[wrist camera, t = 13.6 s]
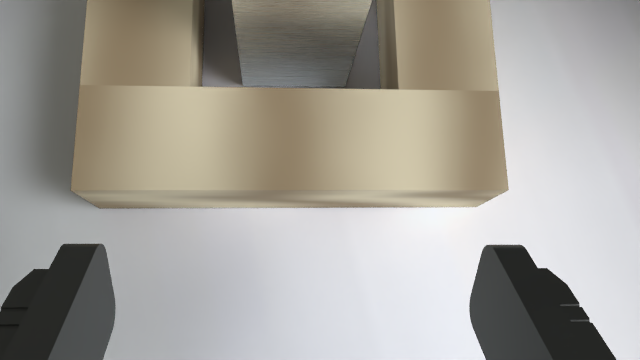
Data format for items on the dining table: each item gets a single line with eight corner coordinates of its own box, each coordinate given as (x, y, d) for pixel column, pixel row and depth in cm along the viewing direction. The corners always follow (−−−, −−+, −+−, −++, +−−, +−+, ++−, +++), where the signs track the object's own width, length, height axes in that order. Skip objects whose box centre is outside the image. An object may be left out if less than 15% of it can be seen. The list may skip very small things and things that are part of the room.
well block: (449, -106, 25) (473, -162, 22) (476, 206, 21) (508, 189, 18) (124, -120, 23) (102, -182, 21) (99, 208, 20) (70, 190, 17)
